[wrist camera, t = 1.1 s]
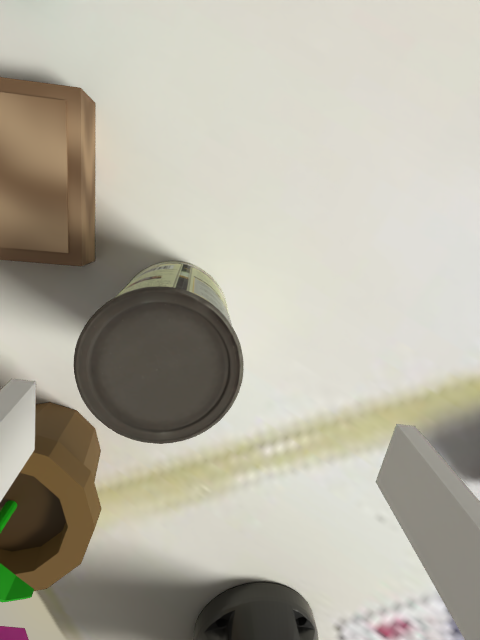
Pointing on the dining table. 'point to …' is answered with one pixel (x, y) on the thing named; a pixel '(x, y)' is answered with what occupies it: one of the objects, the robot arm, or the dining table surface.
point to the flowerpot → (49, 507)
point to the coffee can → (161, 356)
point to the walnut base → (46, 173)
